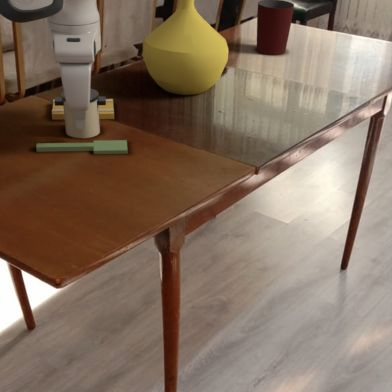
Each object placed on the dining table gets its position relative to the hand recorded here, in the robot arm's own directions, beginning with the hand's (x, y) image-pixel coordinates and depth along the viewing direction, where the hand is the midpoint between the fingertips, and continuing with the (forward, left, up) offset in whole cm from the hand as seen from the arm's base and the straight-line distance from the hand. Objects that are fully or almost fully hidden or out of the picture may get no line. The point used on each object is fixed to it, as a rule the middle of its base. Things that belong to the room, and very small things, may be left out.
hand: (81, 117), depth 117 cm
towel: (0, +10, -3) cm, 10 cm away
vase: (+22, +24, -3) cm, 33 cm away
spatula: (0, -8, -3) cm, 8 cm away
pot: (0, 0, -3) cm, 3 cm away
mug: (+48, +52, -3) cm, 71 cm away
